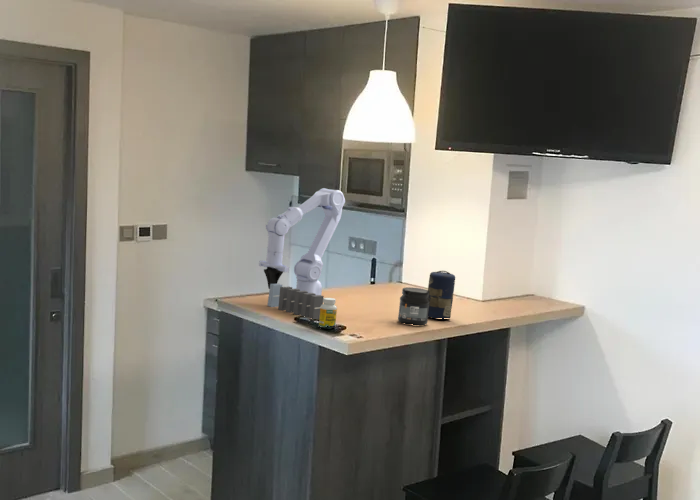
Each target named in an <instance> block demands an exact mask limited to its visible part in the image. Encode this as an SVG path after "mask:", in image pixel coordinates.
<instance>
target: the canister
mask: <svg viewBox="0 0 700 500" xmlns="http://www.w3.org/2000/svg"><path fill="white" fill-rule="evenodd" d="M455 285H456V276H455V275H454V274H453V273H451V272H449V271H448V270H447V271H446V270H438V271H432V272H430V273H429V279H428V286H427V290H428V291H429V292H430V293H429V297H428V299H429V300H430V304H429V311H428V318H429V317H432V318H442V319H444V318H450V319H451V316H452V308H453V300H454V292H455ZM432 318H431V319H432Z"/></svg>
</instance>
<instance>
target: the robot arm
mask: <svg viewBox="0 0 700 500" xmlns="http://www.w3.org/2000/svg"><path fill="white" fill-rule="evenodd" d="M345 203H346V199H345V196H344V192H342V191H341V190H339V189H330V188H329V189H328V188H325V187H323V188H320V189H319V190H317V191H315V193H314V194H313V195H312V196H311V197H308V198H307V199H306V200H305V201H304V202H303V203H301V204H300V205H298V206H297V207H296V206H289V207H287V210H286V211H284V212H283V213H281V214H280V213H279V214H278V215H277V217H271V218H270V219H269V220H268V222H267V224H265V229H266V231H267V247H266V260H259V262H258V266H259V267H263V268H264V269H263V272H264V274H265V277H266V281H267V287H268V289H269V290H270V284H278V282H279V280H280V278H281V276H282V274H283V273H289V271H290V266H287V265H285V264H283V259H284V258H283V256H284V247H285V235H286V234H288V233H289V229H290V228H291V227H293V226H294V225H296V224H297V223H300V222H301V221H302V220H303V216H304V215H305V214H307V213H309V212H310V211H313V210H314V209H315V208H317V207H319V206H320V208H321V209H322V211H323V213H324V215H325V217H324V218H323V220H322V222H321V224H320V227H319V228H318V231H317V232H316V235H315V236H314V239H313V241H312V243H311V245H310V247H309V249H308V251H307V252H306V253H305V254H303V255H302V256H301V257H300V259H299V260H298V261H297V262H296V263H295V264H294V267H293V272H294V274H295V276H296V284H295V289H300V291H307V292H308V293H314V294H316V295H322V291H323V286H322V283H321V281H319V279H320V278H321V274H322V269H323V267H324V262H323V260H322V258H323V256H324V253H325V251H326V249H327V248H328V245H329V243H330V241H331V239H332V237H333V235H334V233H335V231H336V229H337V227H338V225H339V222H341V221H340V220H341V218H342V213H343V207H344V206H345Z"/></svg>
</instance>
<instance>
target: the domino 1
mask: <svg viewBox="0 0 700 500" xmlns="http://www.w3.org/2000/svg"><path fill="white" fill-rule="evenodd" d="M280 287H283V284H281V283H277V284H270V289H269V292H268V298H267V307H269V308H275V307H277V308H278V306H279V295H280Z"/></svg>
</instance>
